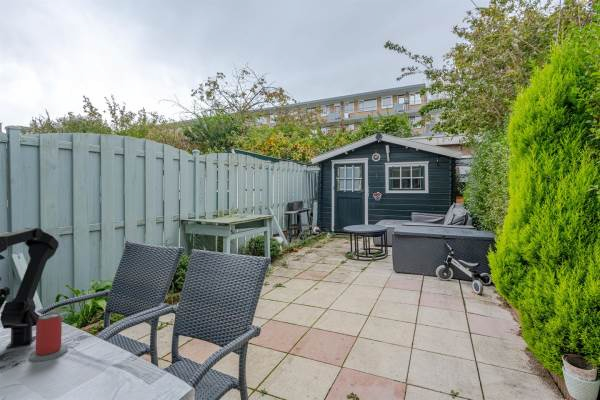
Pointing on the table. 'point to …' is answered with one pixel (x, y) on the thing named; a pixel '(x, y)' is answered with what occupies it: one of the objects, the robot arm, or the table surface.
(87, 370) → the table surface
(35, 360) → the slate coaster
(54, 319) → the beer can
